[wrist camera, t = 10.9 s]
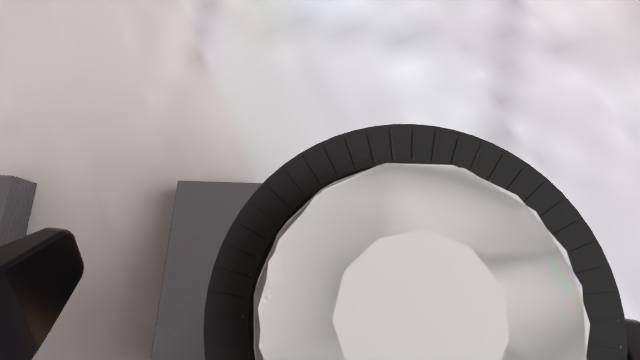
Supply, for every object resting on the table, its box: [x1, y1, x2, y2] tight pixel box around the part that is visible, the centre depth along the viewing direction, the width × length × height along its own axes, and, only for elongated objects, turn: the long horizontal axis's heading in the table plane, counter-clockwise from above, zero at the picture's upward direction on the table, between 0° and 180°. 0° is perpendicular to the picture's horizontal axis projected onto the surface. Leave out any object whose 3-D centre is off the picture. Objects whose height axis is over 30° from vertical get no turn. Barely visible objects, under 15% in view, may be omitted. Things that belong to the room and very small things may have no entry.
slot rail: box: [0, 175, 263, 360], centre depth 16 cm, size 19×10×2 cm, turn 85°
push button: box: [203, 124, 627, 360], centre depth 10 cm, size 7×5×10 cm
